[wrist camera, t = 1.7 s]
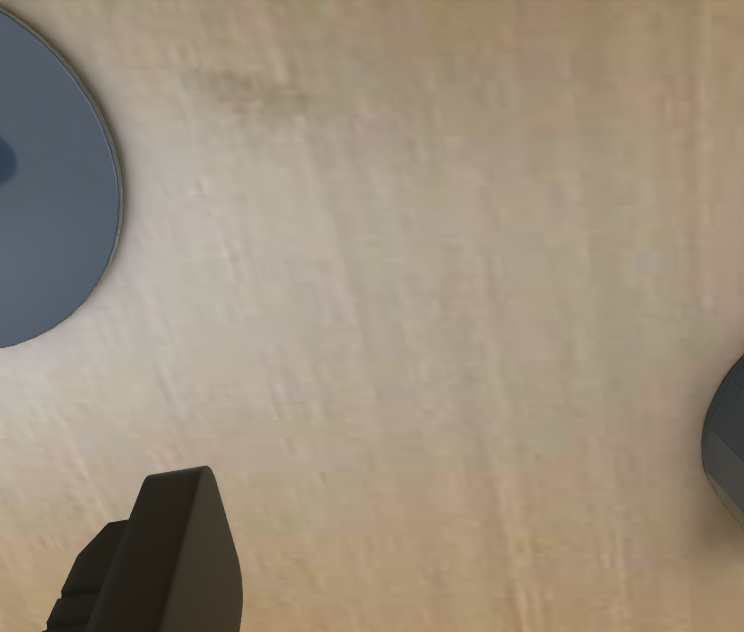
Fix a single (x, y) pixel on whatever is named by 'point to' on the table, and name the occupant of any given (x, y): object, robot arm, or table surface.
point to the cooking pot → (727, 443)
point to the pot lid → (50, 187)
